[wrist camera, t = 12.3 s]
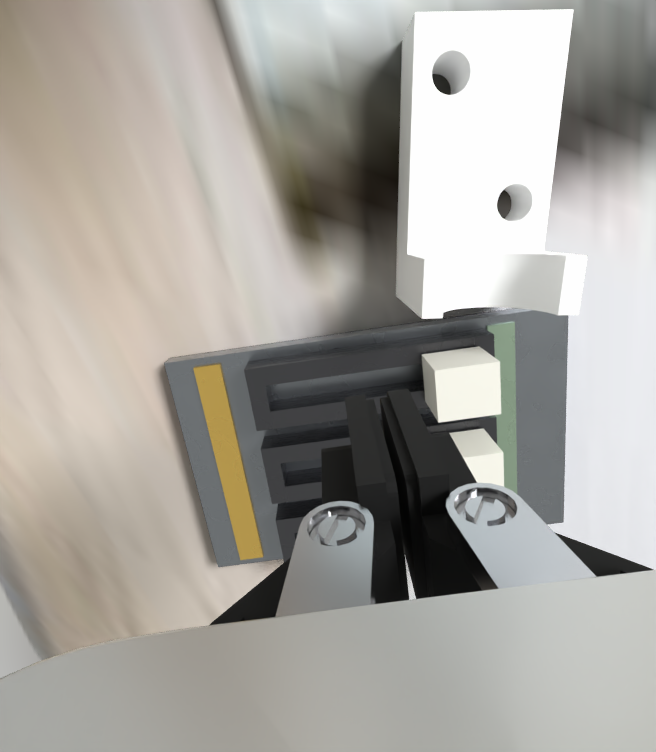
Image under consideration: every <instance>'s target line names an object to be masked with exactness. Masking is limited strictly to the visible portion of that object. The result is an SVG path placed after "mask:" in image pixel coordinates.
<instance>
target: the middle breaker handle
mask: <svg viewBox="0 0 656 752" xmlns="http://www.w3.org/2000/svg"><path fill="white" fill-rule="evenodd" d="M449 434H450V435H451V437H452V439H453V441H454V442H455V444H456V446H457V448H458V450H459V451H460V453H461V455H462V457H463V458H464V460H465V462H466V464H467V466H468V467H469V469H470V471H471V473H472V475H473V476H474V478H475V480H476V482H477V483H491V484H495V485H500V486H503V487H504V459H503V451H502V450H501V449H500V448H499V447H498V445H497V444H496V443H495V442H494V441H493V439H492V438H491V437H490V436H489V434H488V433H487V432H486V431H485V430H484V428H483V429H475V430H468V431H461V432H453V433H449Z"/></svg>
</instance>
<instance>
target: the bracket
mask: <svg viewBox="0 0 656 752" xmlns="http://www.w3.org/2000/svg"><path fill="white" fill-rule="evenodd" d="M572 17H573V9H568V10H509V11H451V12H415V13H414V15H413V17H412V20H411V22H410V24H409V27H408V29H407V31H406V33H405V36H404V38H403V40H402V64H401V104H400V144H399V184H398V224H397V264H396V297H397V298H399V299H400V300H401V301H402V302H403V303H404V304H405V305H407V306H408V307H409V308H410V309H411V310H412V311H413V312H415V313H416V314H417V315H418V316H419V317H420V318H421V319H434V318H443V313H444V312H447V311H450V310H455V309H462V308H477V307H501V308H518V309H528V310H536V311H542V312H547V313H551V314H555V315H579V311H580V304H581V298H582V291H583V284H584V278H585V271H586V264H587V258H588V255H580V254H570V253H559V252H549V251H544V247H545V239H546V231H547V223H548V214H549V206H550V198H551V190H552V181H553V173H554V165H555V157H556V149H557V140H558V132H559V124H560V116H561V108H562V99H563V91H564V83H565V75H566V66H567V58H568V50H569V42H570V34H571V25H572ZM432 74H440V75H442V76H444V77H445V78H446V79H447V80H448V82H449V84H450V88H451V95H446V94H443V93H441V92H440V91H439V90H438V89H437V88H436V87H435V85H434V83H433V79H432ZM503 190H505V191H506V192H507V193H508V194H509V195H510V198H511V209H510V212H509V214H508V215H507V216H506V217H505V218H504V219H503V218H502V217H501V216H500V214H499V212H498V209H497V201H498V197H499V195H500V193H501V192H502V191H503Z"/></svg>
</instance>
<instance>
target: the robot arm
mask: <svg viewBox="0 0 656 752" xmlns="http://www.w3.org/2000/svg"><path fill="white" fill-rule="evenodd" d="M345 405H346V412H347V420H348V427H349V435H350V442H351V445H345V446H338V447H331V448H323V449H321V463H322V505H320V506H318V507H316V508H315V509H313V510H311V511H310V512H309V513H308V514H307V515H306V516H305V517H304V518H303V520H302V522H301V524H300V527H299V530H298V534H297V538H296V542H295V545H294V549H293V553H292V556H291V558H289V559H288V560H287V561H286V562H285V563H283V564H282V565H281V566H280V567H278V568H277V569H276V570H275V571H274V572H272V573H271V574H270V575H269V576H268V577H266V578H265V579H264V580H263V581H262V582H260V583H259V584H258V585H257V586H256V587H254V588H253V589H252V590H251V591H250V592H248V593H247V594H246V595H245V596H243V597H242V598H241V599H240V600H239V601H237V602H236V603H235V604H234V605H233V606H231V607H230V608H229V609H228V610H227V611H225V612H224V613H223V614H222V615H221V616H219V617H218V618H217V619H216V620H214V621H213V622H212V623H211V624H210V625H209V626H201V627H194V628H186V629H179V630H173V631H166V632H160V633H154V634H148V635H142V636H136V637H130V638H123V639H117V640H111V641H107V642H103V643H99V644H95V645H91V646H86V647H82V648H78V649H75V650H72V651H69V652H66V653H63V654H60V655H57V656H54V657H51V658H48V659H45V660H42V661H39V662H36V663H34V664H33V665H30V666H28V667H25V668H23V669H21V670H19V671H16V672H14V673H12V674H9V675H7V676H5V677H3V678H0V752H656V570H653V569H651V568H648V567H645V566H643V565H640V564H637V563H635V562H632V561H629V560H627V559H624V558H621V557H619V556H616V555H613V554H611V553H608V552H605V551H603V550H600V549H597V548H595V547H592V546H589V545H586V544H584V543H581V542H578V541H576V540H573V539H570V538H568V537H565V536H562V535H560V534H557V533H554V532H553V531H552V530H551V529H550V527H549V526H548V525H547V524H546V523H545V522H544V521H543V520H542V519H541V518H540V517H539V516H538V515H537V514H536V513H535V512H534V511H533V510H532V509H531V508H530V507H529V505H528V504H527V503H526V502H525V501H524V500H523V499H522V498H521V497H520V496H518V495H517V494H516V493H515V492H513V491H512V490H510V489H507V488H505V487H503V486H500V485H495V484H491V483H477V482H476V480H475V478H474V476H473V475H472V473H471V471H470V469H469V467H468V466H467V464H466V462H465V460H464V458H463V457H462V455H461V453H460V451H459V450H458V448H457V446H456V444H455V442H454V441H453V439H452V437H451V435H450V434H449V433H448V432H441V433H434V434H429V431H428V429H427V427H426V425H425V423H424V421H423V419H422V417H421V415H420V413H419V410H418V408H417V406H416V404H415V402H414V400H413V398H412V396H411V394H410V392H409V390H408V389H401V390H394V391H387V397H383V398H380V407H381V416H382V425H383V431H382V427H381V423H380V420H379V416H378V413H377V409H376V405H375V402H374V399H368V400H366V398H365V395H358V396H351V397H345ZM404 551H405V555H406V559H407V563H408V567H409V571H410V576H411V580H412V584H413V588H414V592H415V596H416V599H413V600H409V594H408V584H407V575H406V565H405V555H404Z"/></svg>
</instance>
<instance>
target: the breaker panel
mask: <svg viewBox="0 0 656 752" xmlns="http://www.w3.org/2000/svg"><path fill="white" fill-rule="evenodd" d="M567 345H568V315H555V314H551V313H547V312H542V311H536V310H528V309H518V308H514V309H507V310H500V311H493V312H486V313H479V314H472V315H465V316H458V317H452V318H445V319H438V320H431V321H424V322H417V323H410V324H403V325H396V326H389V327H382V328H375V329H368V330H361V331H354V332H347V333H340V334H333V335H326V336H319V337H312V338H305V339H298V340H291V341H284V342H277V343H270V344H263V345H256V346H249V347H242V348H235V349H228V350H221V351H214V352H207V353H200V354H193V355H186V356H179V357H172V358H170V359H168V360H167V361H166V362H165V363H164V365H165V368H166V372H167V376H168V380H169V383H170V387H171V391H172V395H173V399H174V402H175V406H176V410H177V414H178V417H179V421H180V425H181V429H182V432H183V436H184V440H185V444H186V447H187V451H188V455H189V459H190V463H191V466H192V470H193V474H194V478H195V481H196V485H197V489H198V493H199V496H200V500H201V504H202V508H203V511H204V515H205V519H206V523H207V526H208V530H209V534H210V538H211V542H212V545H213V549H214V553H215V557H216V560H217V564H218V567H224V566H231V565H239V564H247V563H254V562H262V561H270V560H277V559H284V563H285V562H286V561H287V560H288V559H289V558H291V556H292V553H293V549H294V545H295V542H296V538H297V534H298V530H299V527H300V524H301V522H302V520H303V518H304V517H305V516H306V515H307V514H308V513H309V512H310V511H311V510H313V509H315V508H316V507H318V506H320V505H322V463H321V449H323V448H331V447H338V446H345V445H351V442H350V435H349V427H348V420H347V412H346V405H345V397H351V396H358V395H365V398H366V400H368V399H374V402H375V405H376V409H377V413H378V416H379V420H380V423H381V427H382V431H383V425H382V416H381V407H380V398H383V397H387V391H394V390H401V389H408V390H409V392H410V394H411V396H412V398H413V400H414V402H415V404H416V406H417V408H418V410H419V413H420V415H421V417H422V419H423V421H424V423H425V425H426V427H427V429H428V431H429V434H434V433H441V432H448V433H453V432H461V431H468V430H475V429H483V428H484V430H485V431H486V432H487V433H488V434H489V436H490V437H491V438H492V439H493V441H494V442H495V443H496V444H497V445H498V447H499V448H500V449H501V450H502V451H503V459H504V487H505V488H507V489H510V490H512V491H513V492H515V493H516V494H517V495H518V496H520V497H521V498H522V499H523V500H524V501H525V502H526V503H527V504H528V505H529V507H530V508H531V509H532V510H533V511H534V512H535V513H536V514H537V515H538V516H539V517H540V518H541V519H542V520H543V521H544V522H545V523H546V524H554V523H562V522H563V518H564V475H565V432H566V388H567ZM478 346H480V347H481V348H482V349H484V350H485V351H486V352H488V353H489V354H490V355H492V356H493V357H494V358H496V359H497V360H499V361H500V382H501V414H498V415H491V416H483V417H476V418H469V419H462V420H454V421H447V422H440V423H438V421H437V420H436V418H435V416H434V415H433V413H432V411H431V410H430V408H429V407H428V405H427V403H426V402H425V391H424V379H423V367H422V354H429V353H436V352H443V351H450V350H457V349H464V348H471V347H478ZM404 554H405V551H404Z"/></svg>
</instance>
